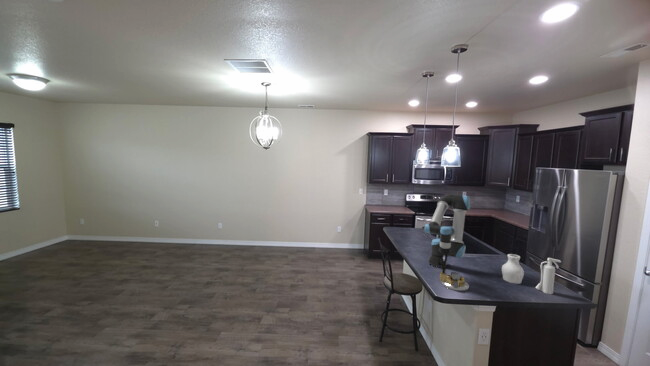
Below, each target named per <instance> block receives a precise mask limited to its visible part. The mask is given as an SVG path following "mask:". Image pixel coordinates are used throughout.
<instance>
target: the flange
mask: <svg viewBox="0 0 650 366" xmlns="http://www.w3.org/2000/svg"><path fill="white" fill-rule="evenodd" d="M450 273H451V279H452V280H454V281H453V285H450V284H448V283H447V282H446V281H441V285H442V284H443V285H444V286H445V287H444V286H443V285H442V286H443V287H444V288H446V289H448V288H449V289H448V290H450V291H451V290H452V291H455V292H467V291H469V288H470V285H469V284H468V282H466V281H465V285H464V286H461V287H460V286H459V287H458V282H456V281H457V279H459V280H460V277H461V274H460V273H459V272H456V271H451V272H450Z"/></svg>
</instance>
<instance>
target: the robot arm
mask: <svg viewBox="0 0 650 366" xmlns="http://www.w3.org/2000/svg"><path fill="white" fill-rule="evenodd" d="M449 208H452V211H453V219H452V220H453V221H452V225H451V226H447V225H446V226H445V225H444V226H443V225H441V223H442V220H443V218H444V215H445V213H446V211H447V210H448V209H449ZM470 209H471V198H470V196H468V195H465V194H464V195H463V194H452V193H449V194H446V195H444V196H442V197H440V198H439V200H438V201H437V203H436V209H435V211H434V213H433V215H432V217H431V218H430V221H429V223H426V224H425V225H424V227H423V228H424V232H425V233H427V234H430V235H438V236H439V238H433V239H432V240H431V248H430V249H431V250H430V256H429V259H428V262H429V263H430V264H431V265H433V266H432V267H434V266H437V267H436V268H438V267H442V268H440V269H441V273H446V270H447V269H448V268H447V267H446V266H447V265H448V263H447V261H448V256H449V257H452V258H457V259H462V258H463V257H464V256H465V253H466V244H465V243H464V241H463V235H464V229H465V219H466V213H467V212H468V211H469V210H470ZM429 263H428V264H429ZM431 265H430V266H431ZM446 274H447V273H446Z"/></svg>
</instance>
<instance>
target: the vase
mask: <svg viewBox="0 0 650 366" xmlns="http://www.w3.org/2000/svg"><path fill="white" fill-rule="evenodd" d="M520 259H521V256H520V255H518V254H514V253H508V254H507V261H506V262H505V263H504V264H502V265H501V273H502V279H503V281H505V282H507V283H510V284H516V285H521V284H522V281H523V279H524V275H525V271H524V269H523V267H522V266H521V265H520Z"/></svg>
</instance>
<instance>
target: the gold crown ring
mask: <svg viewBox="0 0 650 366" xmlns="http://www.w3.org/2000/svg"><path fill="white" fill-rule="evenodd" d="M447 274H448V273H442V272H439V281H440V282H442V281H446V282H447V283H448V284H450V285H453V281H454V280H452V279H451V272H450V274H448V275H447ZM456 282H458V287H459V286H460V287H461V286H464V285H465V282H466V280H465V277H464V276H460V280H459V279H457V281H456Z"/></svg>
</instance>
